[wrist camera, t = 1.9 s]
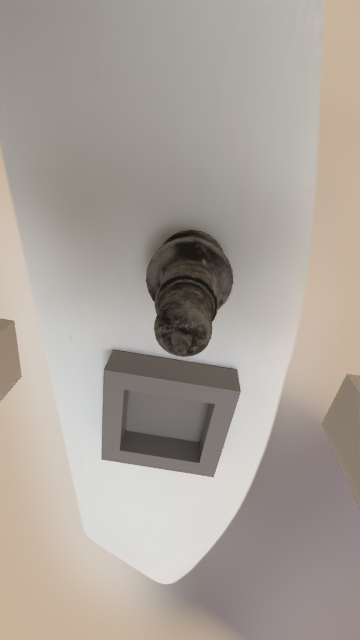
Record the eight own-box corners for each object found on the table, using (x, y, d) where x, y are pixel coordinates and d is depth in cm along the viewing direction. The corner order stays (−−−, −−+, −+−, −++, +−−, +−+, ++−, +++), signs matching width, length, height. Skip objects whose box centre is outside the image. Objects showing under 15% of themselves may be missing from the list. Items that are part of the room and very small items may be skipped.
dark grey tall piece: (178, 310, 26) (159, 418, 15) (139, 251, 23) (85, 328, 13) (242, 278, 24) (272, 374, 13) (206, 210, 22) (207, 261, 11)
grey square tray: (113, 349, 28) (103, 369, 25) (237, 369, 28) (240, 391, 25) (109, 435, 33) (101, 459, 31) (212, 451, 33) (213, 477, 31)
